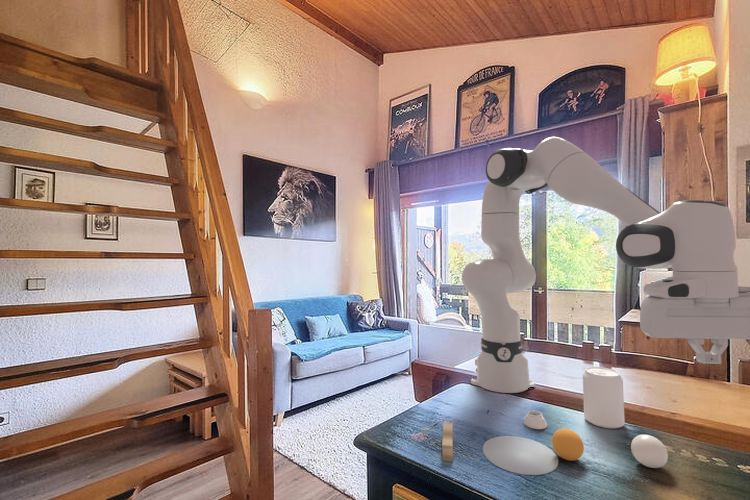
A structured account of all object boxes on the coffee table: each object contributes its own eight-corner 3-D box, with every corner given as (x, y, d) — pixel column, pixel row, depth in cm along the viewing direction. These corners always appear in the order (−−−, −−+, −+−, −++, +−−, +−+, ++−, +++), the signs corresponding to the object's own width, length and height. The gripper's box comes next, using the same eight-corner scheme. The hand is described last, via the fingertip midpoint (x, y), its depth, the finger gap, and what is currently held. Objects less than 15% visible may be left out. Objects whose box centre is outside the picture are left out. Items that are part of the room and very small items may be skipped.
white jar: (524, 419, 88) (522, 428, 83) (524, 407, 88) (522, 415, 83) (547, 423, 85) (546, 432, 81) (546, 410, 86) (546, 419, 81)
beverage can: (631, 431, 80) (629, 377, 80) (591, 429, 82) (589, 376, 82) (615, 416, 88) (613, 366, 88) (579, 413, 90) (577, 365, 90)
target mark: (480, 434, 80) (480, 433, 80) (547, 439, 77) (547, 438, 77) (486, 470, 67) (486, 469, 67) (568, 479, 64) (568, 477, 64)
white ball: (626, 456, 70) (625, 428, 71) (658, 459, 69) (656, 430, 69) (640, 472, 65) (639, 442, 65) (675, 476, 64) (674, 444, 64)
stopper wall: (443, 435, 80) (443, 422, 80) (452, 436, 80) (452, 422, 80) (442, 460, 70) (442, 445, 70) (453, 461, 70) (452, 446, 70)
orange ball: (549, 449, 73) (548, 422, 74) (578, 452, 72) (577, 424, 72) (556, 465, 68) (555, 435, 68) (588, 468, 67) (587, 438, 67)
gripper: (758, 285, 67) (762, 360, 66) (634, 286, 71) (637, 356, 71) (789, 287, 61) (794, 370, 60) (651, 288, 65) (655, 365, 64)
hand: (708, 362), depth 65 cm, fingers closed
